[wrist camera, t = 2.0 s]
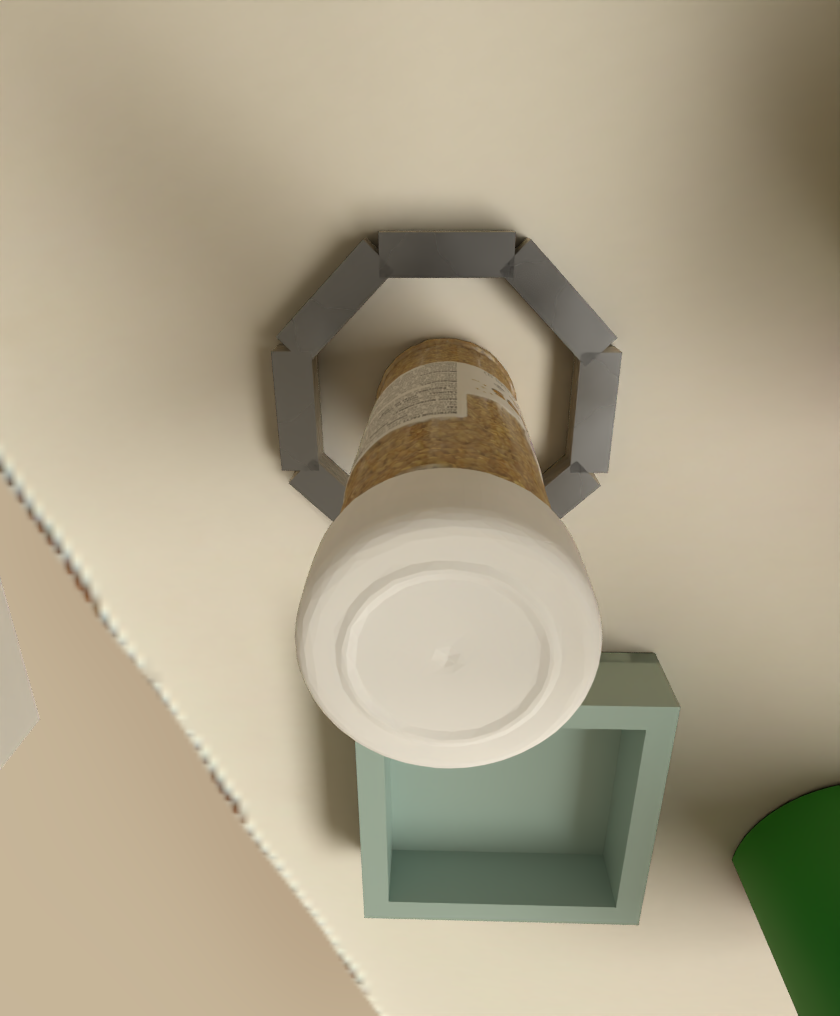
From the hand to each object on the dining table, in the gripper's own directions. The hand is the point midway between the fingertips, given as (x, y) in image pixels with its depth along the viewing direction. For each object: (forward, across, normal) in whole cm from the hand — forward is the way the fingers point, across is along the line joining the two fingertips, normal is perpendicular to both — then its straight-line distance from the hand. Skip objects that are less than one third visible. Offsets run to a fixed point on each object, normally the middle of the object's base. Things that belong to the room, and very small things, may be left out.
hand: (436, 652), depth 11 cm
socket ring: (+13, 0, 0) cm, 13 cm away
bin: (+13, +3, -14) cm, 20 cm away
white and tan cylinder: (+13, 0, 0) cm, 13 cm away
